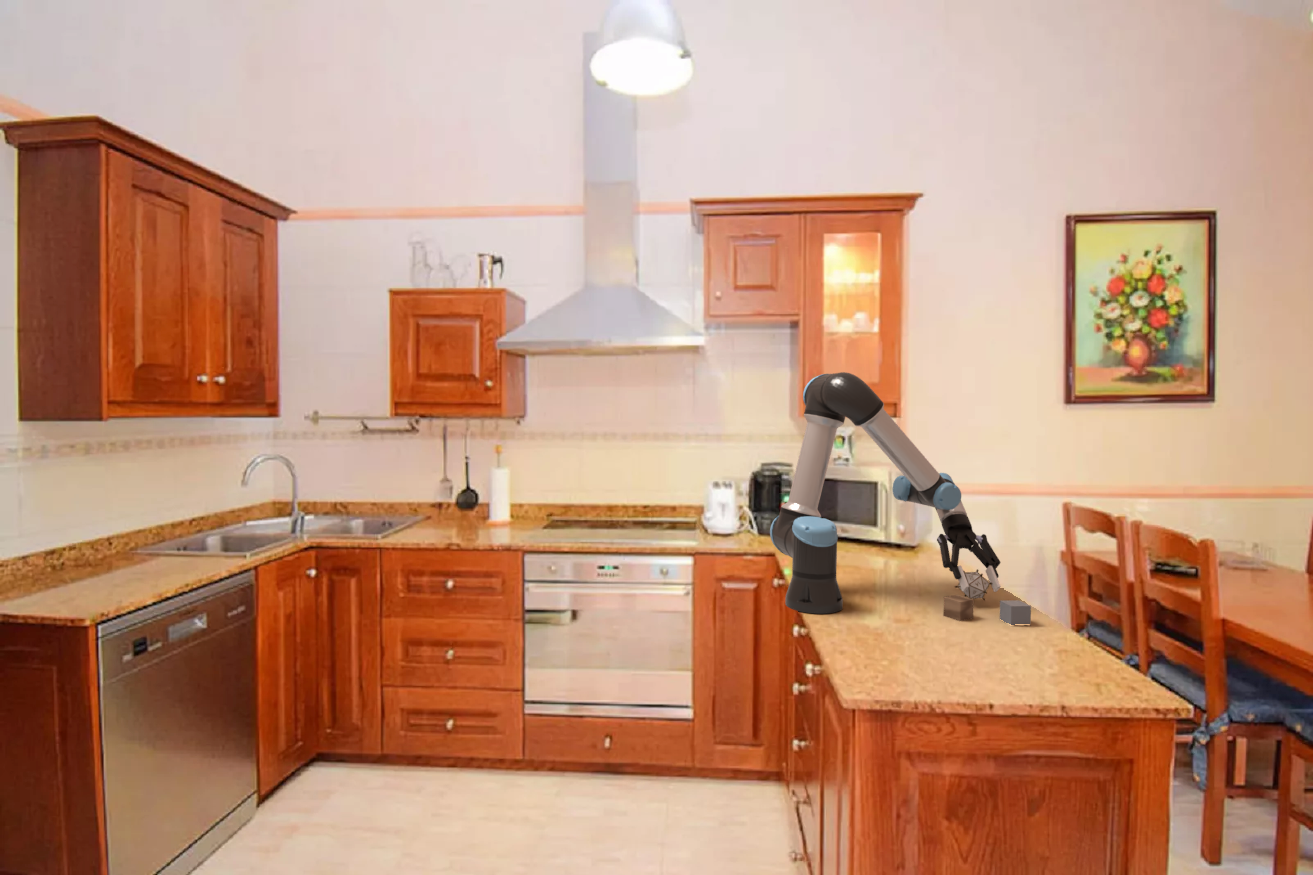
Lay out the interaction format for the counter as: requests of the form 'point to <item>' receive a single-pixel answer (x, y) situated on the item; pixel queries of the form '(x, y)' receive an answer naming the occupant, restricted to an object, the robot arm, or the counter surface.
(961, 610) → the walnut block
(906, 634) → the counter surface
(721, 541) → the counter surface
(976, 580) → the game die
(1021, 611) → the gray block
